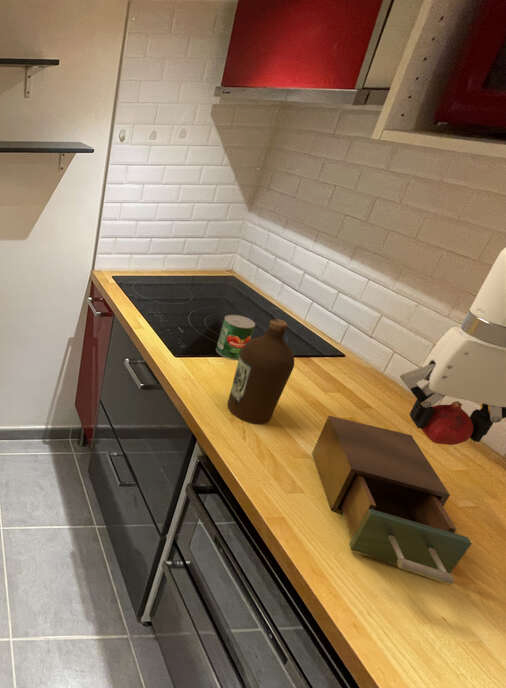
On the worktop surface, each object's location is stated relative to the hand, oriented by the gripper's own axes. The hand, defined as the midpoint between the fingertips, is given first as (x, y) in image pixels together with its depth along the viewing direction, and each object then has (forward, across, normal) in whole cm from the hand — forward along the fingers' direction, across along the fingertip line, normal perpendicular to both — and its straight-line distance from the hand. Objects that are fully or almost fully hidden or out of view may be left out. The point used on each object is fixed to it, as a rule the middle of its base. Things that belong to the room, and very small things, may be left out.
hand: (443, 428), depth 71 cm
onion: (+3, 0, 0) cm, 3 cm away
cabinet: (+23, +1, -9) cm, 25 cm away
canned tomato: (+24, +22, -54) cm, 63 cm away
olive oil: (+24, +19, -26) cm, 40 cm away
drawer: (+23, +1, +4) cm, 23 cm away
